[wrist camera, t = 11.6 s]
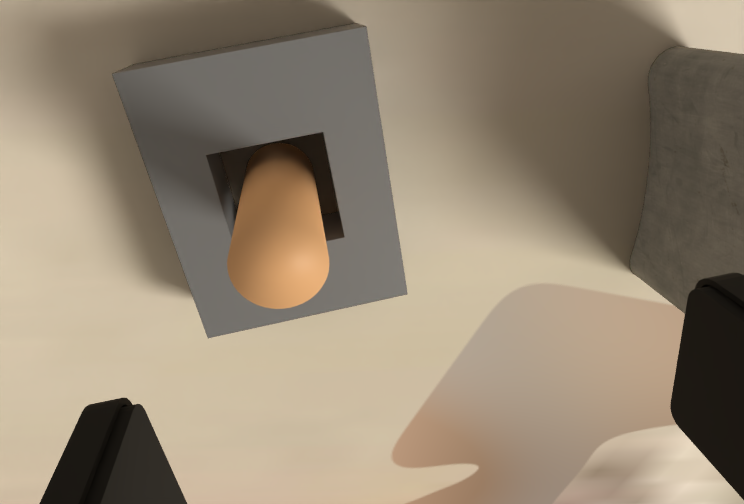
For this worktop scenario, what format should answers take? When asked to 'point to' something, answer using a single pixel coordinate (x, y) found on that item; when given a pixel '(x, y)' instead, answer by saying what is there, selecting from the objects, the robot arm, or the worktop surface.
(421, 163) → the worktop surface
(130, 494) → the robot arm
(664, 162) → the hip flask
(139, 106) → the hole block
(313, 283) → the long pin
